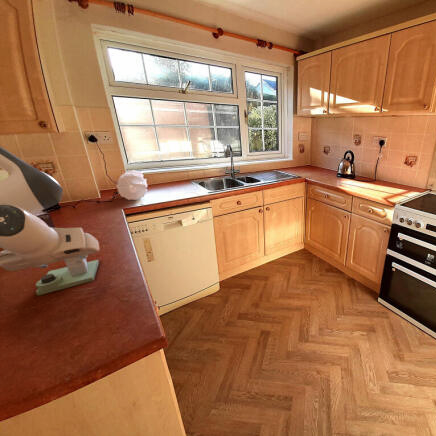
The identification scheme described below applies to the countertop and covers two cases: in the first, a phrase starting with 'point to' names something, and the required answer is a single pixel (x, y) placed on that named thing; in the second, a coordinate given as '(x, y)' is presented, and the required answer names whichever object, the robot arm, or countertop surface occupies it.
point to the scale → (67, 278)
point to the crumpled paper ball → (132, 185)
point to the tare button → (47, 278)
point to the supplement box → (45, 218)
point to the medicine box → (76, 266)
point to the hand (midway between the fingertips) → (65, 260)
